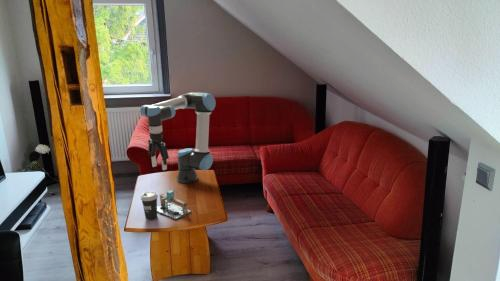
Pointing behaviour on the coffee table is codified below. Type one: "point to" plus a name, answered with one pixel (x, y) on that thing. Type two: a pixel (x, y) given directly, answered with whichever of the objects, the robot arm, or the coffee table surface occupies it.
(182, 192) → the coffee table surface
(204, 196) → the coffee table surface
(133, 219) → the coffee table surface
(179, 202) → the wooden rail
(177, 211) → the bolt plate
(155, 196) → the coffee cup
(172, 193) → the slider block
